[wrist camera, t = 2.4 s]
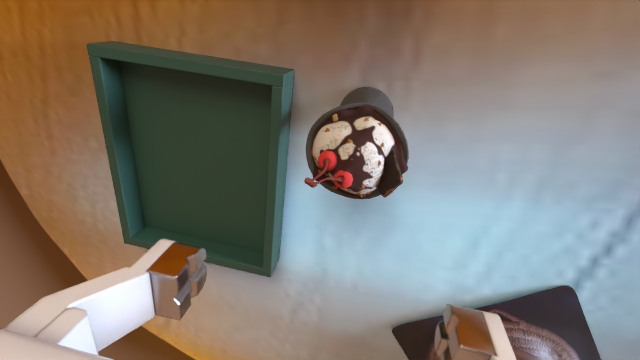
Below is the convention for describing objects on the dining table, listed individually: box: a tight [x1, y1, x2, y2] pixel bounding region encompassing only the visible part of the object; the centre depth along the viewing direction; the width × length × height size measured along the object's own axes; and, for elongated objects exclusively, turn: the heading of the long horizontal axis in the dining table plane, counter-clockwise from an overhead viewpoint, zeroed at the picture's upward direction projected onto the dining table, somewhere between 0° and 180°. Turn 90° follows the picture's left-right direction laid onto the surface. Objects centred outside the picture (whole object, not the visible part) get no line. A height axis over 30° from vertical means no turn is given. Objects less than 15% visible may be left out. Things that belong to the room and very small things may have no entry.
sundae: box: [305, 87, 408, 199], centre depth 24 cm, size 7×7×15 cm
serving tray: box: [87, 41, 294, 277], centre depth 35 cm, size 22×18×3 cm
